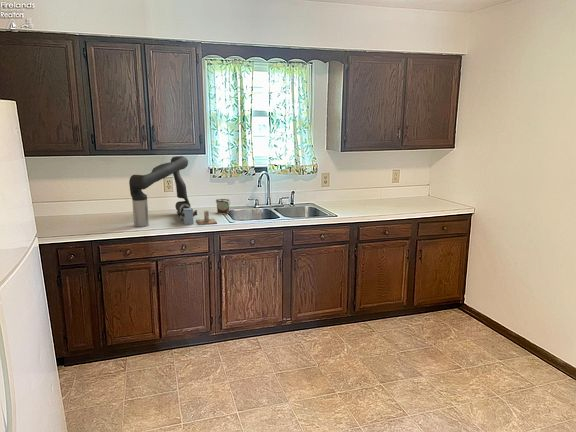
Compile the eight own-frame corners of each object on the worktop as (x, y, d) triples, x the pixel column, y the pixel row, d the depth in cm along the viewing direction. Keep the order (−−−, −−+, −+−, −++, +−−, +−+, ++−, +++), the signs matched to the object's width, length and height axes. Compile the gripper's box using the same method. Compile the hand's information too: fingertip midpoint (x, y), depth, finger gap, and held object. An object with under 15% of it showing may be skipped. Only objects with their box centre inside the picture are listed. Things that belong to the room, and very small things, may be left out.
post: (199, 224, 289) (198, 213, 287) (196, 220, 300) (196, 209, 298) (217, 223, 293) (216, 212, 291) (213, 219, 304) (213, 208, 302)
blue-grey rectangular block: (184, 224, 289) (184, 210, 286) (183, 222, 294) (183, 208, 292) (193, 224, 291) (192, 209, 288) (192, 222, 296) (191, 207, 293)
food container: (234, 213, 325) (233, 199, 323) (228, 214, 320) (228, 201, 318) (221, 211, 332) (221, 198, 330) (216, 212, 327) (215, 199, 325)
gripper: (174, 205, 301) (177, 210, 285) (195, 204, 306) (199, 209, 290) (175, 216, 302) (178, 221, 287) (196, 215, 307) (200, 220, 292)
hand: (188, 215), depth 289 cm, fingers closed on blue-grey rectangular block, 5 cm apart
